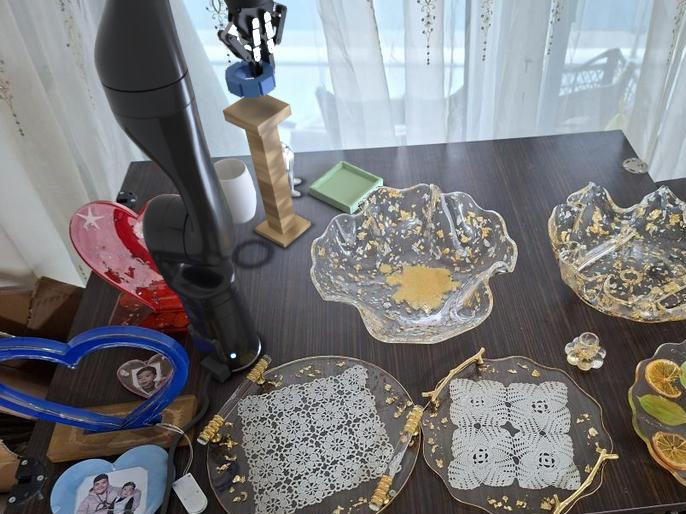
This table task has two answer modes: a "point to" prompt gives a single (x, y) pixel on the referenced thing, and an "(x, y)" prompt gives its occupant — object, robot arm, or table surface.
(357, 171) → the tray
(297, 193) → the figurine
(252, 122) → the platform
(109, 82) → the robot arm
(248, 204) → the cup
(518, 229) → the table surface
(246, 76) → the ring
